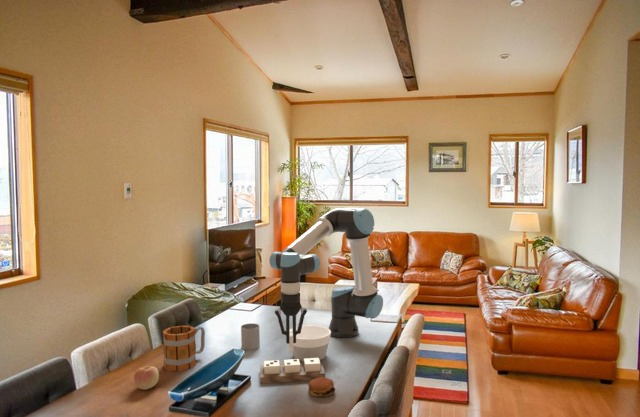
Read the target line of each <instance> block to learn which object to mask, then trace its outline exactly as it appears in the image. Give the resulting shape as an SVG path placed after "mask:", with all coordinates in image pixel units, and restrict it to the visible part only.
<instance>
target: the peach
mask: <svg viewBox="0 0 640 417" xmlns="http://www.w3.org/2000/svg"><path fill="white" fill-rule="evenodd" d="M159 377H160V374H159V370H158V368H157V367H155V366H151V365H145V366H141V367H139V368H138V369H137V370H136V371H135V373H134V377H133V378H134V383H135V385H136V387H138V388H139V389H140V390H142V391H146V390H149V389H152V388H153V387H155V386H156V385H157V383H158V382H159Z"/></svg>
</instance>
